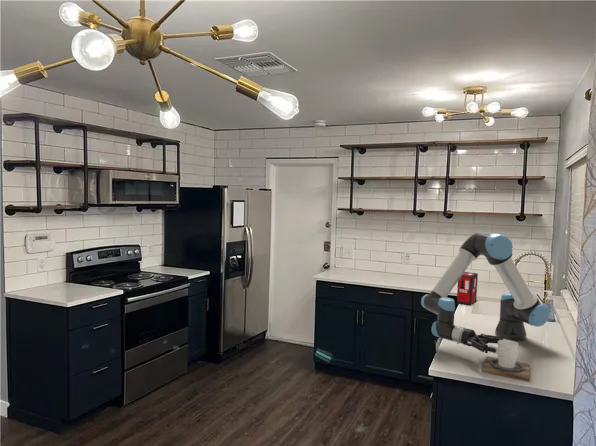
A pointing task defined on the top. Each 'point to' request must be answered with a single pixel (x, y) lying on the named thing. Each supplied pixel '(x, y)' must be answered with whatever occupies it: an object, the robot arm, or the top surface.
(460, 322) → the top surface
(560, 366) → the top surface
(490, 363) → the coaster board
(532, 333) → the top surface
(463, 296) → the cleaning product box
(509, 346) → the white cup
